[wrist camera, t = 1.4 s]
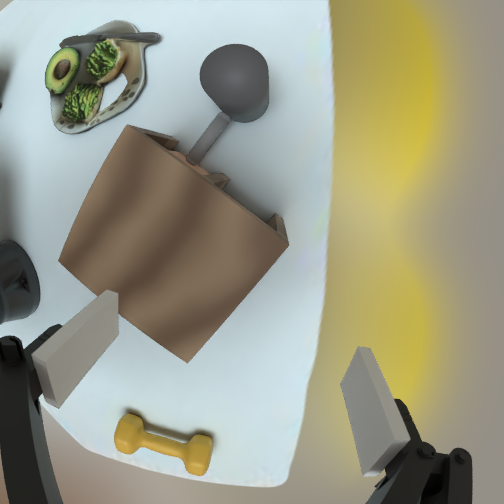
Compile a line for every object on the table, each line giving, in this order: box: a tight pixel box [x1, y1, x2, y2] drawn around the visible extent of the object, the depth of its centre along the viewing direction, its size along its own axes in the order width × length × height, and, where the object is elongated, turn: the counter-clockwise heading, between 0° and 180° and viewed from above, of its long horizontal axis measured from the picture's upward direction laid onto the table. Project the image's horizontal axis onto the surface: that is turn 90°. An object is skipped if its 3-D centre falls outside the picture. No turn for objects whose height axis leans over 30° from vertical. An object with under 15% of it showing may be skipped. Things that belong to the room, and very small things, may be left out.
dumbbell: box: [114, 414, 213, 476], centre depth 45 cm, size 19×9×8 cm, turn 77°
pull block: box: [168, 44, 269, 175], centre depth 29 cm, size 6×19×11 cm, turn 143°
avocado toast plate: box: [45, 20, 159, 134], centre depth 30 cm, size 19×18×5 cm
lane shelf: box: [58, 125, 289, 363], centre depth 31 cm, size 18×16×12 cm
